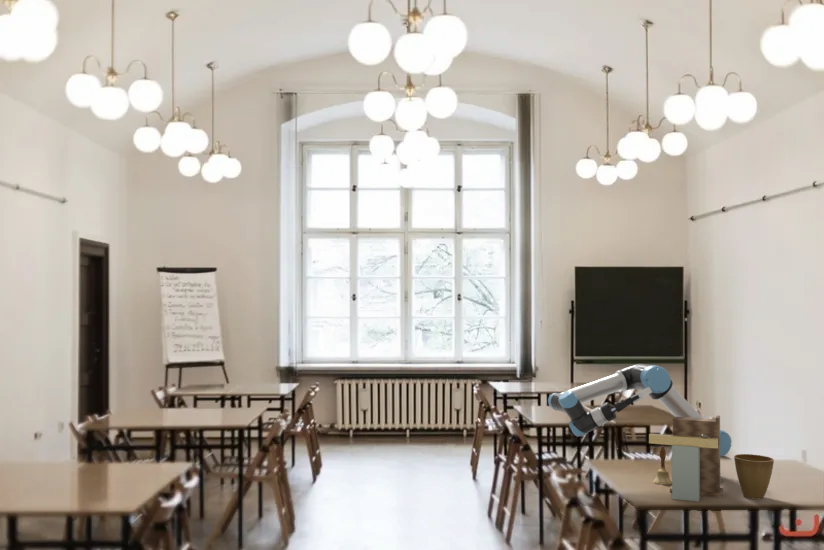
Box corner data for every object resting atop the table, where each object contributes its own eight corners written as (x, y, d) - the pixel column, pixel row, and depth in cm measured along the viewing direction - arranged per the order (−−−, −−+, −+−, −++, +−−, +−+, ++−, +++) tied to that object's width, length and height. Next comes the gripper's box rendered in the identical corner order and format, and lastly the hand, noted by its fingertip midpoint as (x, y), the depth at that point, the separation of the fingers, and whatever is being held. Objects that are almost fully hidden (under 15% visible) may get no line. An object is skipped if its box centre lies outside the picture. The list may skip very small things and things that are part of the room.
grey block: (672, 498, 317) (671, 445, 318) (673, 495, 324) (673, 443, 325) (698, 501, 313) (698, 447, 314) (699, 497, 320) (699, 445, 320)
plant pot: (728, 496, 322) (727, 457, 322) (743, 491, 332) (743, 452, 333) (765, 503, 311) (765, 462, 312) (780, 497, 322) (779, 457, 322)
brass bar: (649, 443, 323) (649, 431, 324) (650, 442, 327) (650, 430, 327) (717, 448, 313) (717, 436, 313) (717, 447, 316) (717, 435, 316)
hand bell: (673, 485, 342) (673, 448, 343) (653, 484, 344) (653, 447, 344) (671, 481, 350) (671, 445, 351) (652, 480, 352) (652, 444, 353)
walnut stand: (669, 492, 329) (669, 415, 330) (673, 486, 339) (672, 412, 341) (721, 497, 320) (721, 418, 322) (723, 491, 331) (722, 415, 333)
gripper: (613, 418, 350) (656, 396, 343) (603, 425, 327) (649, 402, 320) (604, 403, 352) (647, 380, 345) (593, 409, 329) (639, 385, 322)
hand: (648, 391), depth 333 cm, fingers open, 13 cm apart
